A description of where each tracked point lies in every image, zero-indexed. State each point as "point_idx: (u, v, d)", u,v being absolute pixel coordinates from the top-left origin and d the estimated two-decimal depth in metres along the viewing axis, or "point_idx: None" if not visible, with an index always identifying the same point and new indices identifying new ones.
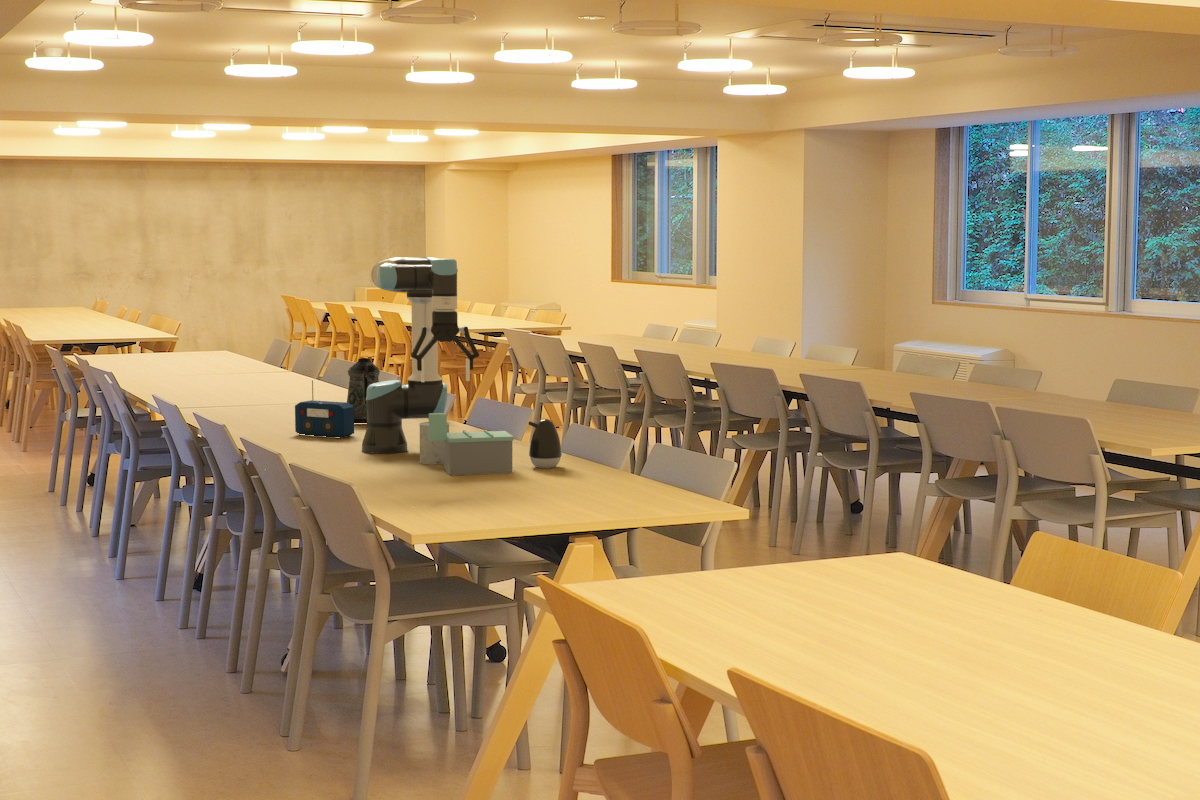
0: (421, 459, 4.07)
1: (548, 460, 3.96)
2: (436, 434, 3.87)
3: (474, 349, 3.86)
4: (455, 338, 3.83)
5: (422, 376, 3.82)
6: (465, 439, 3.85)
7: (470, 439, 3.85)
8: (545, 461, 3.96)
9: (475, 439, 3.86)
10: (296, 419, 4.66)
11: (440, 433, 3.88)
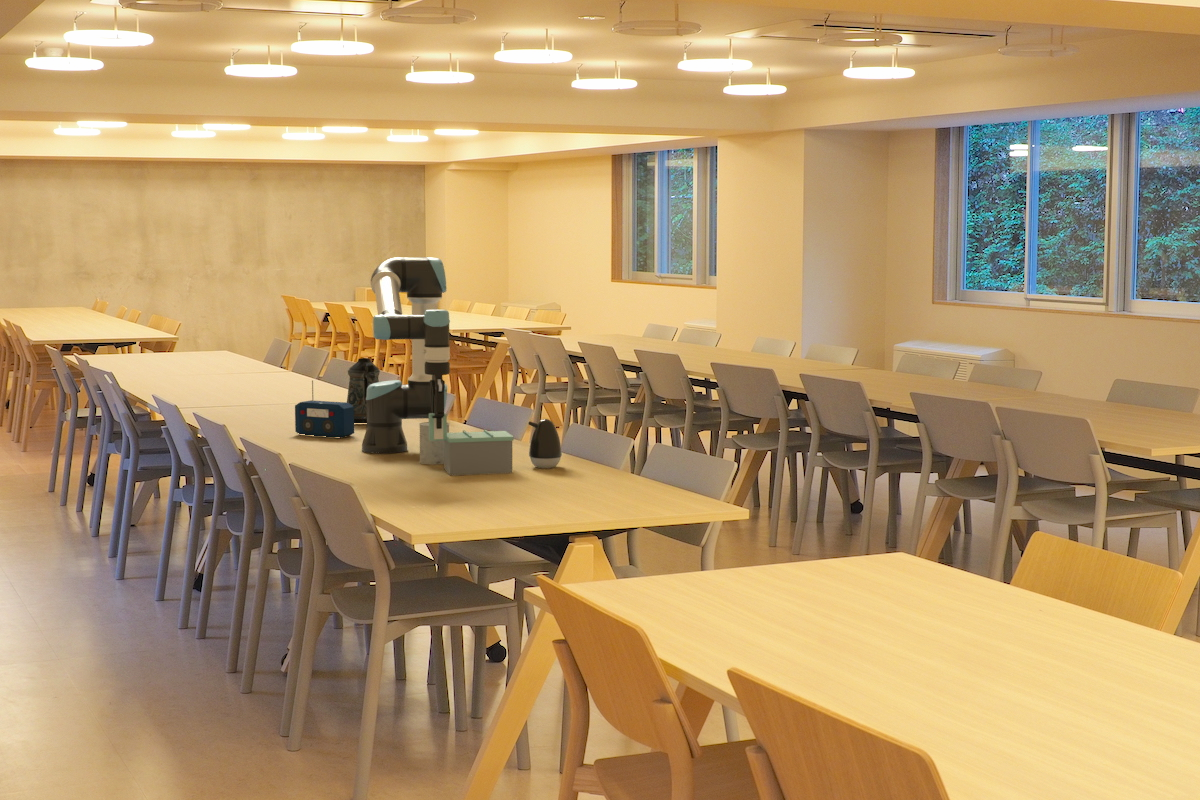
0: (421, 459, 4.07)
1: (548, 460, 3.96)
2: None
3: (435, 408, 3.83)
4: (432, 391, 3.85)
5: None
6: (465, 439, 3.85)
7: (470, 439, 3.85)
8: (545, 461, 3.96)
9: (475, 439, 3.86)
10: (296, 419, 4.66)
11: None
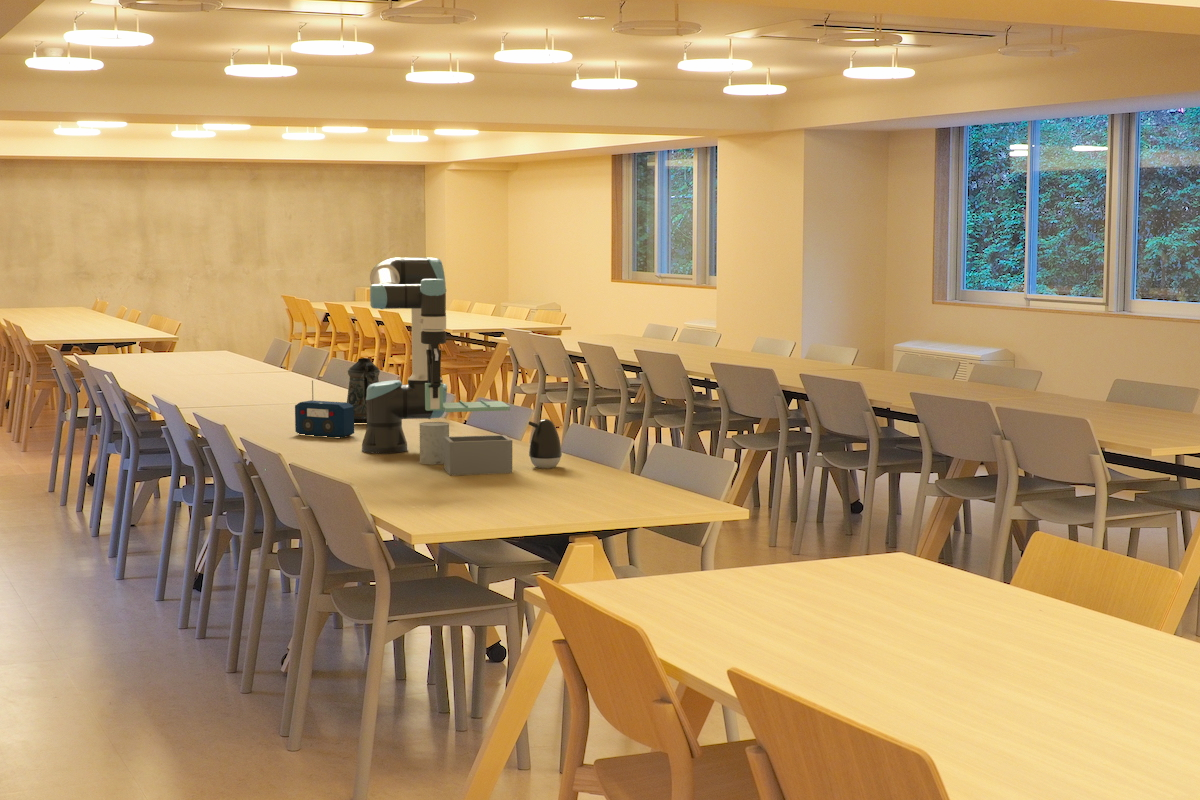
0: (421, 459, 4.07)
1: (548, 460, 3.96)
2: None
3: (432, 377, 3.82)
4: (428, 360, 3.84)
5: None
6: (461, 409, 3.84)
7: (466, 409, 3.84)
8: (545, 461, 3.96)
9: (471, 409, 3.85)
10: (296, 419, 4.66)
11: None
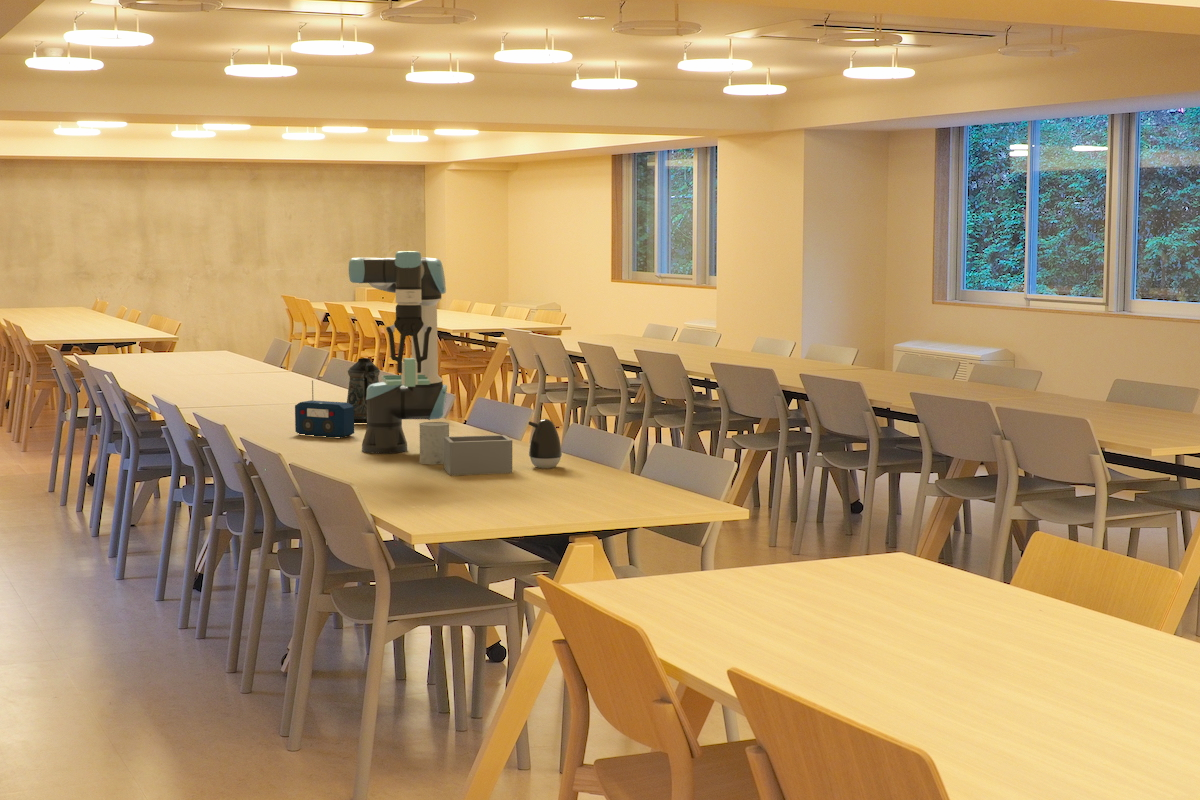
0: (421, 459, 4.07)
1: (548, 460, 3.96)
2: None
3: (425, 351, 3.77)
4: (415, 334, 3.75)
5: (402, 378, 3.76)
6: None
7: None
8: (545, 461, 3.96)
9: None
10: (296, 419, 4.66)
11: None
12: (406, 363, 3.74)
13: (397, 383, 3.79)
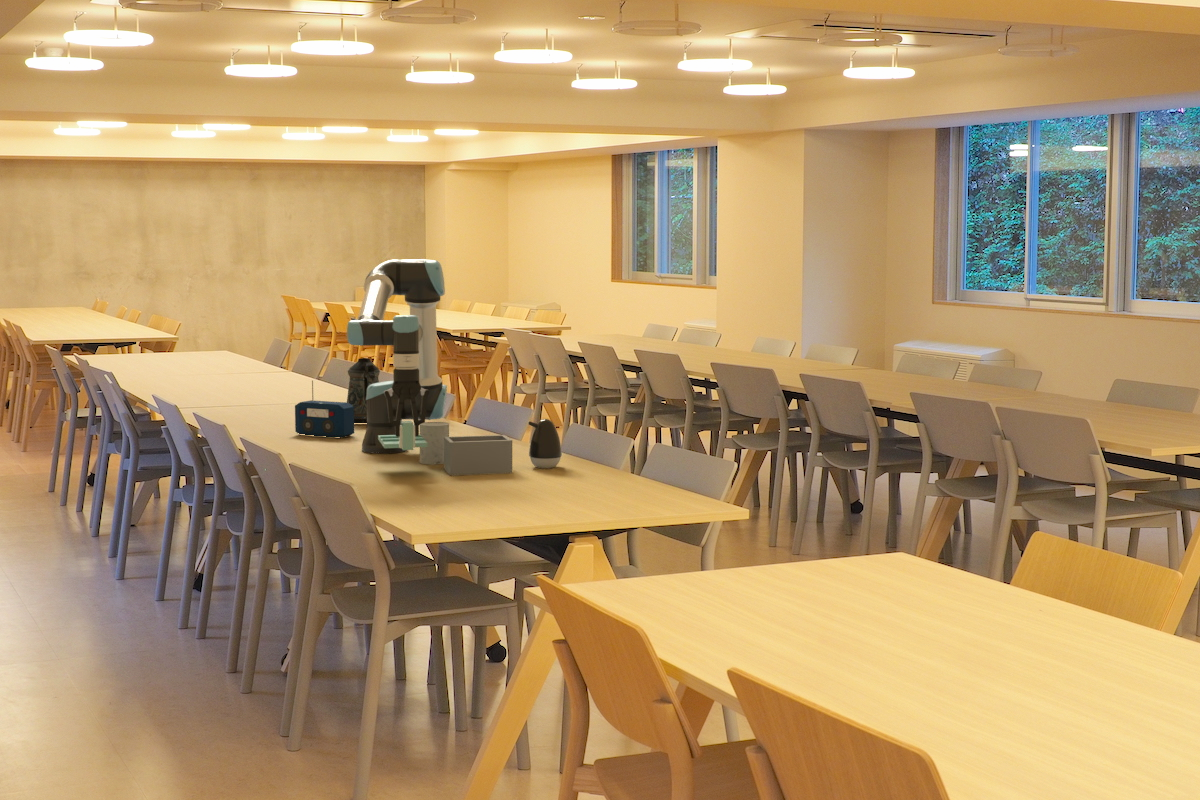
0: (421, 459, 4.07)
1: (548, 460, 3.96)
2: None
3: (423, 414, 3.78)
4: (413, 398, 3.76)
5: (400, 442, 3.77)
6: None
7: (424, 441, 3.89)
8: (545, 461, 3.96)
9: None
10: (296, 419, 4.66)
11: None
12: (404, 427, 3.76)
13: (395, 446, 3.81)
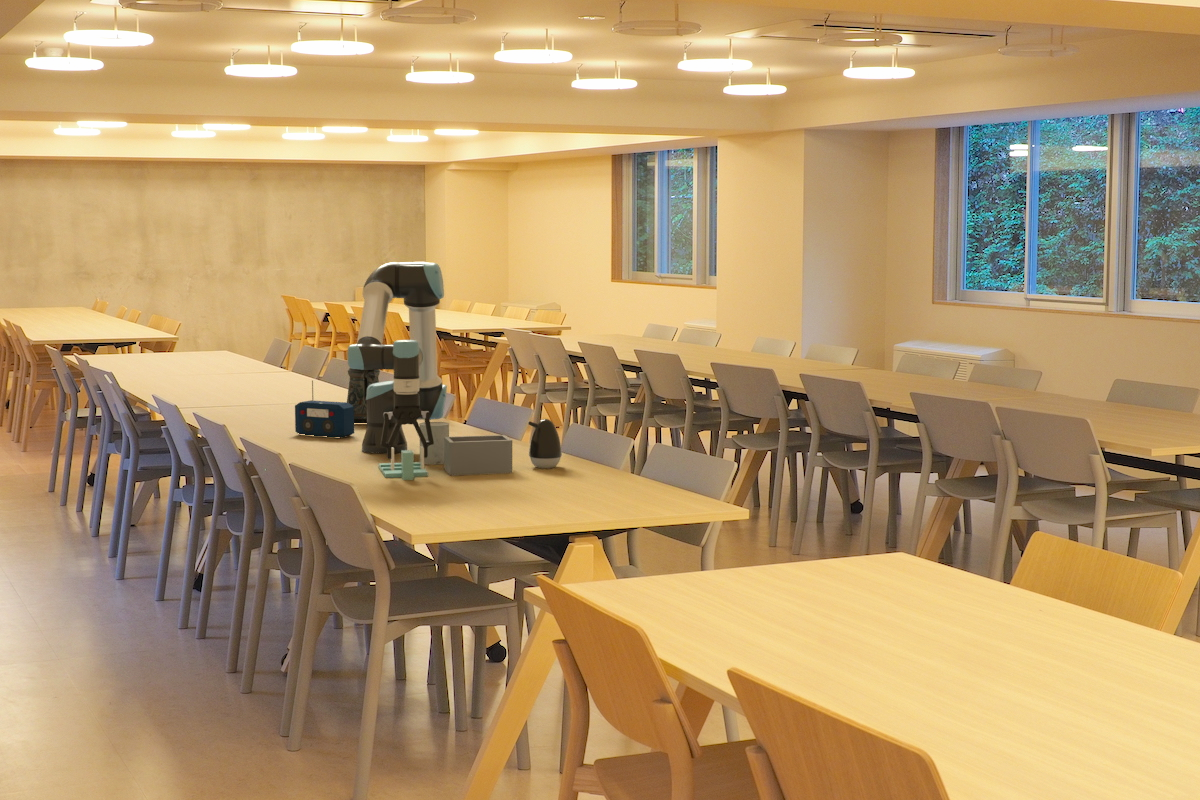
0: None
1: (548, 460, 3.96)
2: None
3: (430, 436, 3.79)
4: (415, 422, 3.77)
5: (392, 464, 3.77)
6: (425, 470, 3.89)
7: None
8: (545, 461, 3.96)
9: None
10: (296, 419, 4.66)
11: None
12: (404, 457, 3.77)
13: (395, 475, 3.82)
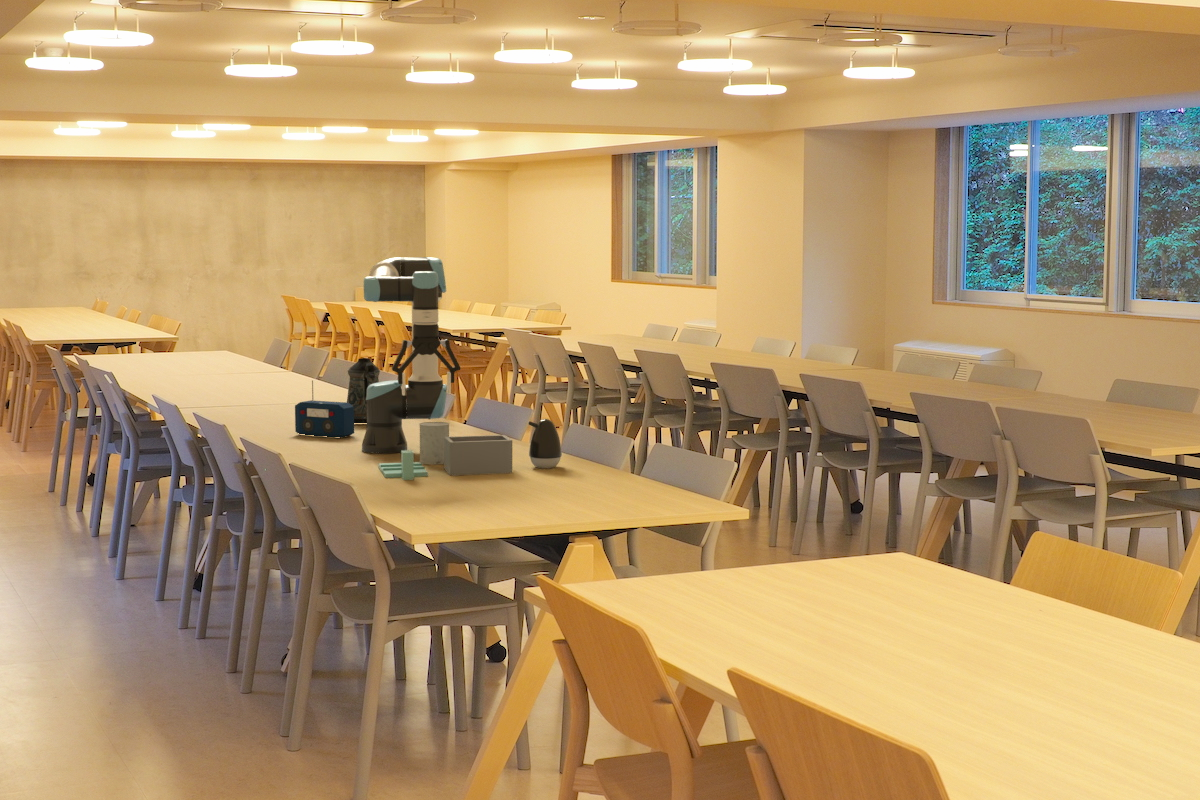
0: (421, 459, 4.07)
1: (548, 460, 3.96)
2: None
3: (455, 362, 3.84)
4: (436, 351, 3.82)
5: (403, 389, 3.81)
6: (425, 470, 3.89)
7: None
8: (545, 461, 3.96)
9: None
10: (296, 419, 4.66)
11: None
12: (404, 457, 3.77)
13: (395, 475, 3.82)
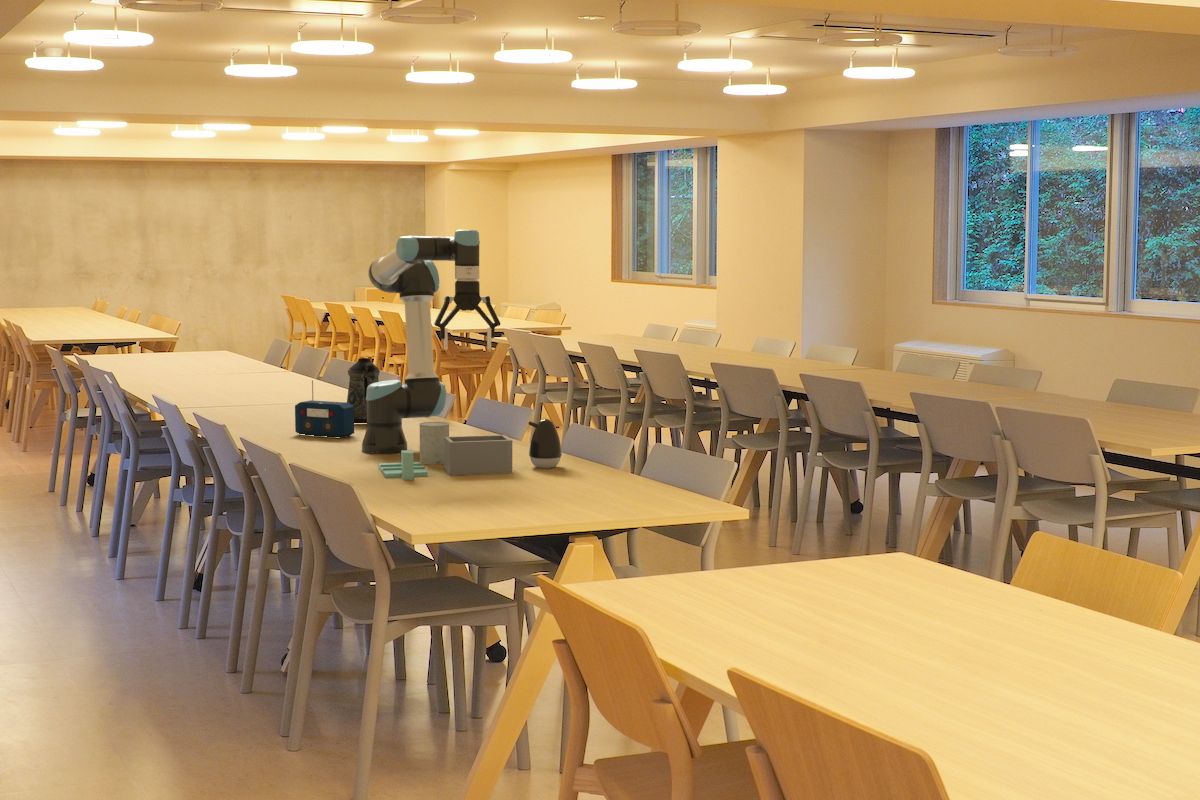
0: (421, 459, 4.07)
1: (548, 460, 3.96)
2: None
3: (495, 318, 3.98)
4: (477, 307, 3.95)
5: (445, 344, 3.94)
6: (425, 470, 3.89)
7: None
8: (545, 461, 3.96)
9: None
10: (296, 419, 4.66)
11: None
12: (404, 457, 3.77)
13: (395, 475, 3.82)
